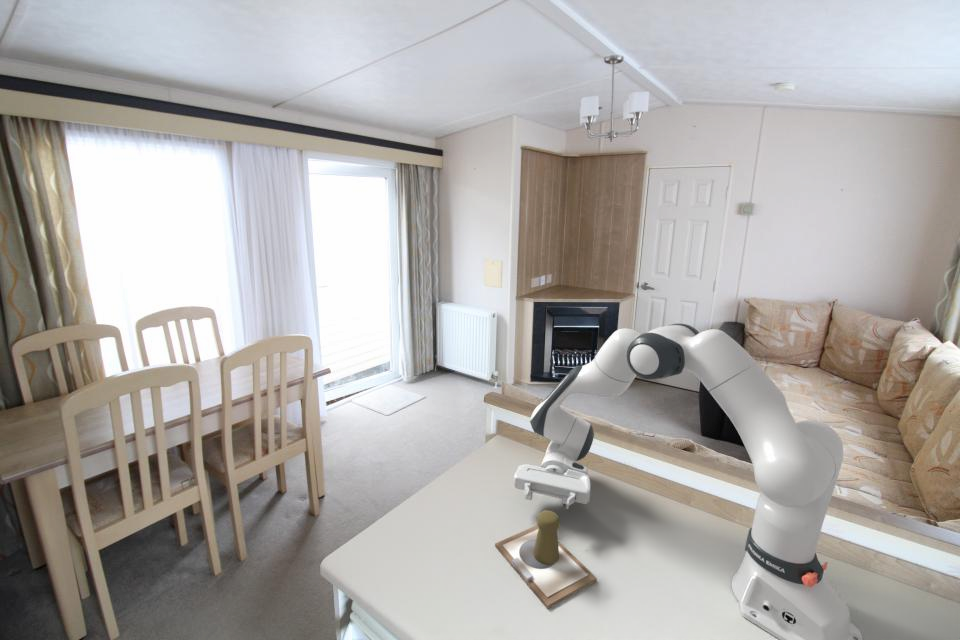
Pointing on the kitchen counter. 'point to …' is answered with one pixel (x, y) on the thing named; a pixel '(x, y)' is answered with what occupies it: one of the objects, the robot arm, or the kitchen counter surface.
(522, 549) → the clipboard
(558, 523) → the cork
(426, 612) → the kitchen counter surface
